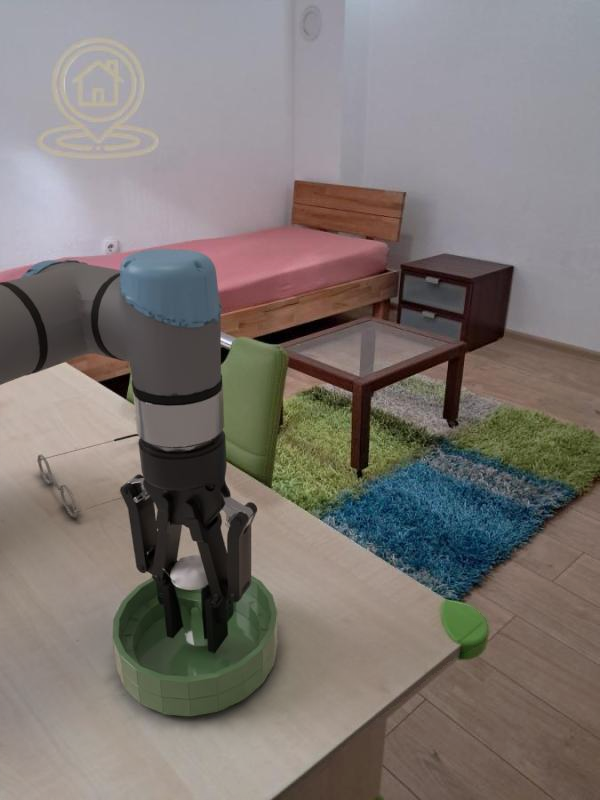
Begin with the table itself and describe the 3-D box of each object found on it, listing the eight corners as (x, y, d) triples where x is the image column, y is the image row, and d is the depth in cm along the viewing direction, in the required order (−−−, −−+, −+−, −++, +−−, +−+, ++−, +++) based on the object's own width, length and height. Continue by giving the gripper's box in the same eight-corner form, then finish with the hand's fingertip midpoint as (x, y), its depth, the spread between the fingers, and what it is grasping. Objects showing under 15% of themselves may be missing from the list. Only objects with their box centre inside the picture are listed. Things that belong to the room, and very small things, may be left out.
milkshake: (163, 637, 65) (152, 558, 61) (207, 613, 68) (199, 536, 64) (186, 663, 62) (175, 581, 58) (231, 636, 65) (224, 557, 61)
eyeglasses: (36, 471, 99) (32, 448, 97) (148, 441, 109) (147, 420, 108) (75, 526, 86) (71, 501, 84) (199, 486, 96) (198, 463, 95)
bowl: (83, 685, 62) (76, 647, 60) (176, 583, 75) (173, 549, 73) (229, 745, 56) (226, 705, 54) (300, 623, 70) (301, 587, 68)
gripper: (289, 433, 55) (289, 635, 65) (127, 399, 61) (149, 589, 71) (249, 473, 49) (256, 691, 59) (74, 432, 55) (105, 635, 65)
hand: (197, 635), depth 65 cm, fingers closed on milkshake, 4 cm apart
